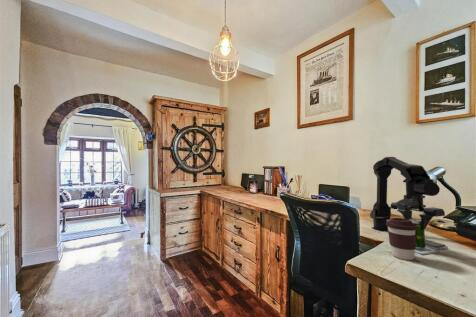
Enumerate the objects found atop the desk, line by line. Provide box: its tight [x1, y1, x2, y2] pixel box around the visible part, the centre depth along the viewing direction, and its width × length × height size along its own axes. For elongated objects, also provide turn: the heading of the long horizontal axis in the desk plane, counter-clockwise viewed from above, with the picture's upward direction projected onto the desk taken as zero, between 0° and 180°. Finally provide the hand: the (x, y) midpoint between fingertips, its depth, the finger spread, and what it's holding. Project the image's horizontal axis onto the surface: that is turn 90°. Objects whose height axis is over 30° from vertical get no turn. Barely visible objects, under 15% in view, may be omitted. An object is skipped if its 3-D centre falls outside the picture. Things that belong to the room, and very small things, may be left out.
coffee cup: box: [386, 217, 417, 261], centre depth 83 cm, size 10×10×15 cm
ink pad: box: [425, 238, 449, 251], centre depth 94 cm, size 10×8×2 cm
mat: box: [415, 247, 440, 256], centre depth 90 cm, size 10×10×1 cm
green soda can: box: [409, 218, 426, 249], centre depth 90 cm, size 5×5×12 cm
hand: (416, 228), depth 91 cm, fingers closed on green soda can, 5 cm apart
